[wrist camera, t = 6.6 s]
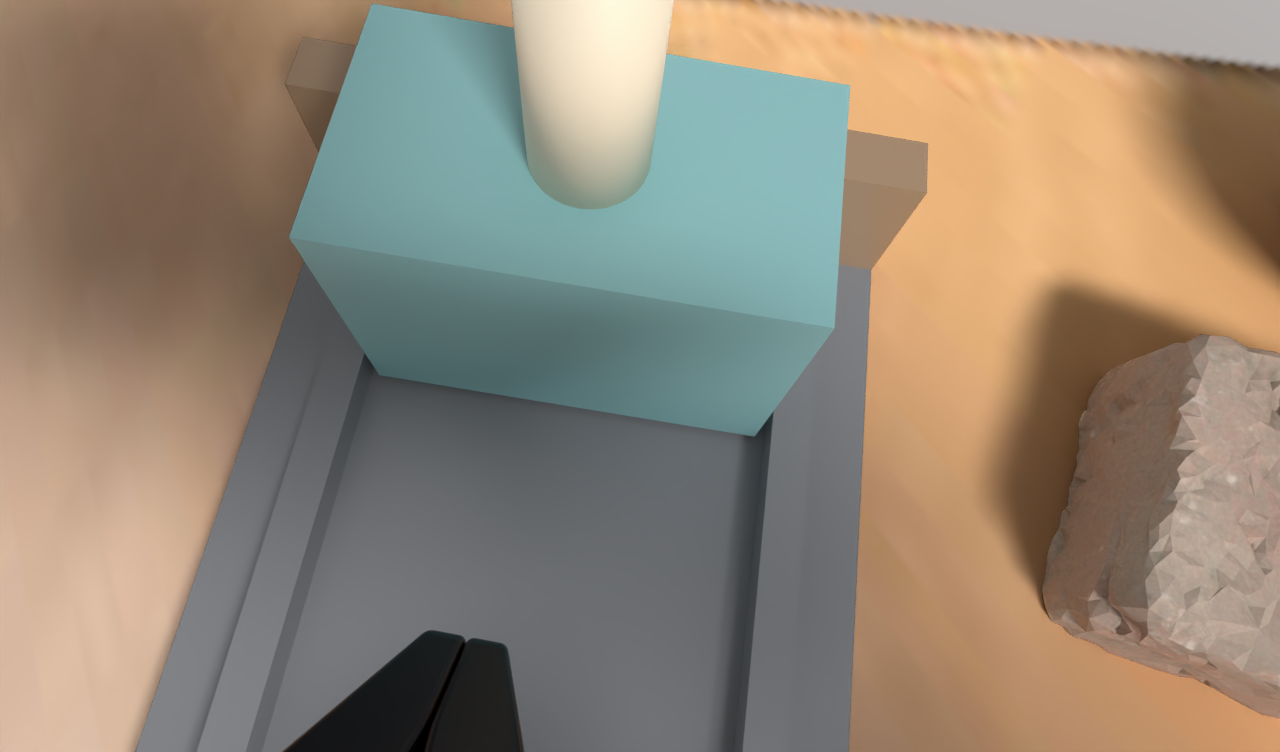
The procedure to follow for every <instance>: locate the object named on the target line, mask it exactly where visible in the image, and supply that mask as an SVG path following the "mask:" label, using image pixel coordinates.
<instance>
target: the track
mask: <svg viewBox="0 0 1280 752" xmlns="http://www.w3.org/2000/svg"><path fill="white" fill-rule="evenodd" d="M356 47H357V46H354V45H348V44H342V43H336V42H331V41H325V40H319V39H313V38H307V37H303V39H302V41H301V44H300V46H299V49H298V51H297V54H296V57H295V59H294V62H293V64H292V67H291V69H290V72H289V75H288V77H287V80H286V82H285V85H286V87H287V89H288V91H289V93H290V95H291V97H292V99H293V101H294V103H295V105H296V107H297V110H298V112H299V114H300V116H301V118H302V120H303V122H304V124H305V126H306V128H307V130H308V132H309V134H310V136H311V138H312V140H313V142H314V144H315V146H316V148H317V150H318V152H319V151H320V148H321V145H322V142H323V140H324V137H325V134H326V131H327V128H328V126H329V123H330V120H331V117H332V114H333V112H334V109H335V106H336V103H337V100H338V98H339V95H340V92H341V89H342V86H343V83H344V81H345V78H346V75H347V72H348V69H349V67H350V64H351V61H352V58H353V55H354V53H355V50H356ZM927 161H928V143H923V142H917V141H912V140H906V139H900V138H894V137H888V136H882V135H876V134H870V133H865V132H859V131H853V130H847V142H846V157H845V173H844V189H843V204H842V220H841V235H840V251H839V266H838V282H837V297H836V313H835V328H834V330H833V331H832V332H831V334H830V335H829V336H828V338H827V339H826V341H825V342H824V343H823V345H822V346H821V347H820V349H819V350H818V351H817V353H816V354H815V355H814V357H813V358H812V360H811V361H810V362H809V364H808V365H807V366H806V368H805V369H804V370H803V372H802V373H801V374H800V376H799V377H798V379H797V380H796V381H795V383H794V384H793V385H792V387H791V388H790V389H789V391H788V392H787V393H786V395H785V396H784V398H783V399H782V400H781V402H780V403H779V404H778V406H777V407H776V408H775V410H774V411H773V412H772V414H771V415H770V417H769V418H768V419H767V421H766V422H765V423H764V425H763V426H762V427H761V429H760V430H759V431H758V433H757V434H756V436H755V437H753V436H747V435H741V434H735V433H729V432H723V431H717V430H711V429H705V428H699V427H692V426H686V425H680V424H674V423H668V422H662V421H656V420H650V419H644V418H638V417H631V416H625V415H619V414H613V413H607V412H601V411H595V410H589V409H583V408H577V407H570V406H564V405H558V404H552V403H546V402H540V401H534V400H528V399H522V398H516V397H510V396H503V395H497V394H491V393H485V392H479V391H473V390H467V389H461V388H455V387H449V386H442V385H436V384H430V383H424V382H418V381H412V380H406V379H400V378H394V377H388V376H381V375H379V374H378V372H377V371H376V369H375V368H374V366H373V365H372V363H371V362H370V360H369V359H368V357H367V356H366V354H365V353H364V351H363V350H362V348H361V347H360V345H359V343H358V342H357V340H356V339H355V337H354V336H353V334H352V333H351V331H350V330H349V328H348V327H347V325H346V324H345V322H344V321H343V319H342V318H341V316H340V315H339V313H338V312H337V310H336V309H335V307H334V306H333V304H332V302H331V301H330V299H329V298H328V296H327V295H326V293H325V292H324V290H323V289H322V287H321V286H320V284H319V283H318V281H317V280H316V278H315V277H314V275H313V274H312V272H311V271H310V269H309V268H308V266H307V265H306V263H305V261H304V263H303V266H302V269H301V271H300V274H299V277H298V280H297V283H296V286H295V289H294V292H293V295H292V298H291V301H290V304H289V306H288V309H287V312H286V315H285V318H284V321H283V324H282V327H281V330H280V333H279V336H278V338H277V341H276V344H275V347H274V350H273V353H272V356H271V359H270V362H269V365H268V368H267V370H266V373H265V376H264V379H263V382H262V385H261V388H260V391H259V394H258V397H257V400H256V402H255V405H254V408H253V411H252V414H251V417H250V420H249V423H248V426H247V429H246V432H245V435H244V437H243V440H242V443H241V446H240V449H239V452H238V455H237V458H236V461H235V464H234V467H233V469H232V472H231V475H230V478H229V481H228V484H227V487H226V490H225V493H224V496H223V499H222V501H221V504H220V507H219V510H218V513H217V516H216V519H215V522H214V525H213V528H212V531H211V533H210V536H209V539H208V542H207V545H206V548H205V551H204V554H203V557H202V560H201V563H200V566H199V568H198V571H197V574H196V577H195V580H194V583H193V586H192V589H191V592H190V595H189V598H188V600H187V603H186V606H185V609H184V612H183V615H182V618H181V621H180V624H179V627H178V630H177V632H176V635H175V638H174V641H173V644H172V647H171V650H170V653H169V656H168V659H167V662H166V664H165V667H164V670H163V673H162V676H161V679H160V682H159V685H158V688H157V691H156V694H155V697H154V699H153V702H152V705H151V708H150V711H149V714H148V717H147V720H146V723H145V726H144V729H143V731H142V734H141V737H140V740H139V743H138V746H137V749H136V752H282V751H283V750H284V749H286V748H287V747H288V746H289V745H290V744H292V743H293V742H294V741H295V740H296V739H298V738H299V737H300V736H301V735H302V734H303V733H305V732H306V731H307V730H308V729H309V728H311V727H312V726H313V725H314V724H315V723H317V722H318V721H319V720H320V719H321V718H323V717H324V716H325V715H326V714H327V713H328V712H330V711H331V710H332V709H333V708H334V707H336V706H337V705H338V704H339V703H340V702H342V701H343V700H344V699H345V698H346V697H347V696H349V695H350V694H351V693H352V692H353V691H355V690H356V689H357V688H358V687H359V686H361V685H362V684H363V683H364V682H365V681H366V680H368V679H369V678H370V677H371V676H372V675H374V674H375V673H376V672H377V671H378V670H380V669H381V668H382V667H383V666H384V665H385V664H387V663H388V662H389V661H390V660H391V659H393V658H394V657H395V656H396V655H397V654H399V653H400V652H401V651H402V650H403V649H405V648H406V647H407V646H408V645H409V644H410V643H412V642H413V641H414V640H415V639H416V638H418V637H419V636H420V635H421V634H422V633H424V632H426V631H428V630H436V631H441V632H446V633H452V634H457V635H461V636H463V637H464V638H465V640H466V642H467V641H468V640H469V639H471V638H478V639H483V640H489V641H494V642H499V643H503V644H505V645H506V647H507V648H508V652H509V658H510V664H511V671H512V677H513V683H514V689H515V696H516V702H517V708H518V714H519V721H520V727H521V733H522V739H523V746H524V752H849V731H850V709H851V688H852V667H853V646H854V625H855V603H856V582H857V561H858V540H859V519H860V497H861V476H862V455H863V434H864V413H865V391H866V370H867V349H868V328H869V307H870V285H871V270H872V268H873V267H874V265H875V264H876V263H877V261H878V260H879V258H880V257H881V256H882V254H883V253H884V251H885V250H886V249H887V247H888V246H889V245H890V243H891V242H892V240H893V239H894V238H895V236H896V235H897V233H898V232H899V231H900V229H901V228H902V227H903V225H904V224H905V222H906V221H907V220H908V218H909V217H910V215H911V214H912V213H913V211H914V210H915V209H916V207H917V206H918V204H919V203H920V202H921V200H922V199H923V197H924V196H925V195H926V193H927Z"/></svg>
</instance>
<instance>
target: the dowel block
mask: <svg viewBox="0 0 1280 752" xmlns="http://www.w3.org/2000/svg"><path fill="white" fill-rule="evenodd" d="M511 3H512V13H513V23H514V28H512V27H506V26H500V25H495V24H489V23H483V22H477V21H471V20H465V19H460V18H454V17H448V16H442V15H436V14H430V13H425V12H419V11H413V10H407V9H401V8H395V7H390V6H384V5H378V4H372V5H371V8H370V10H369V13H368V16H367V19H366V22H365V24H364V27H363V30H362V33H361V36H360V39H359V41H358V44H357V47H356V50H355V53H354V55H353V58H352V61H351V64H350V67H349V69H348V72H347V75H346V78H345V81H344V83H343V86H342V89H341V92H340V95H339V98H338V100H337V103H336V106H335V109H334V112H333V114H332V117H331V120H330V123H329V126H328V128H327V131H326V134H325V137H324V140H323V142H322V145H321V148H320V151H319V154H318V157H317V159H316V162H315V165H314V168H313V171H312V173H311V176H310V179H309V182H308V185H307V187H306V190H305V193H304V196H303V199H302V201H301V204H300V207H299V210H298V213H297V216H296V218H295V221H294V224H293V227H292V230H291V232H290V235H289V239H290V240H291V242H292V243H293V245H294V246H295V248H296V249H297V251H298V252H299V254H300V255H301V257H302V258H303V260H304V261H305V263H306V265H307V266H308V268H309V269H310V271H311V272H312V274H313V275H314V277H315V278H316V280H317V281H318V283H319V284H320V286H321V287H322V289H323V290H324V292H325V293H326V295H327V296H328V298H329V299H330V301H331V302H332V304H333V306H334V307H335V309H336V310H337V312H338V313H339V315H340V316H341V318H342V319H343V321H344V322H345V324H346V325H347V327H348V328H349V330H350V331H351V333H352V334H353V336H354V337H355V339H356V340H357V342H358V343H359V345H360V347H361V348H362V350H363V351H364V353H365V354H366V356H367V357H368V359H369V360H370V362H371V363H372V365H373V366H374V368H375V369H376V371H377V372H378V374H379V375H381V376H388V377H394V378H400V379H406V380H412V381H418V382H424V383H430V384H436V385H442V386H449V387H455V388H461V389H467V390H473V391H479V392H485V393H491V394H497V395H503V396H510V397H516V398H522V399H528V400H534V401H540V402H546V403H552V404H558V405H564V406H570V407H577V408H583V409H589V410H595V411H601V412H607V413H613V414H619V415H625V416H631V417H638V418H644V419H650V420H656V421H662V422H668V423H674V424H680V425H686V426H692V427H699V428H705V429H711V430H717V431H723V432H729V433H735V434H741V435H747V436H753V437H755V436H756V434H757V433H758V431H759V430H760V429H761V427H762V426H763V425H764V423H765V422H766V421H767V419H768V418H769V417H770V415H771V414H772V412H773V411H774V410H775V408H776V407H777V406H778V404H779V403H780V402H781V400H782V399H783V398H784V396H785V395H786V393H787V392H788V391H789V389H790V388H791V387H792V385H793V384H794V383H795V381H796V380H797V379H798V377H799V376H800V374H801V373H802V372H803V370H804V369H805V368H806V366H807V365H808V364H809V362H810V361H811V360H812V358H813V357H814V355H815V354H816V353H817V351H818V350H819V349H820V347H821V346H822V345H823V343H824V342H825V341H826V339H827V338H828V336H829V335H830V334H831V332H832V331H833V330H834V328H835V313H836V297H837V282H838V266H839V251H840V235H841V220H842V204H843V189H844V173H845V157H846V142H847V126H848V111H849V95H850V85H845V84H839V83H833V82H827V81H822V80H816V79H810V78H804V77H798V76H792V75H786V74H781V73H775V72H769V71H763V70H757V69H751V68H746V67H740V66H734V65H728V64H722V63H716V62H711V61H705V60H699V59H693V58H687V57H681V56H676V55H670V54H666V53H667V46H668V39H669V31H670V24H671V17H672V10H673V3H674V0H511Z"/></svg>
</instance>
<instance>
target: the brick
mask: <svg viewBox="0 0 1280 752" xmlns="http://www.w3.org/2000/svg"><path fill="white" fill-rule="evenodd" d="M1078 429H1079V439H1080V440H1079V441H1078V445H1079V448H1080V449H1079V452H1078V454H1077V456H1076V461H1077V467H1076V469H1075V472H1074V477H1073V481H1072V483H1071V485H1070V487H1069V494H1070V497H1069V498H1068V506H1067V507H1065V509H1064V510H1063V511H1062V514H1061V518H1060V524H1059V529H1058V531H1057V532H1056V533H1055V535H1054V537H1053V539H1052V542H1051V544H1050V547H1049V550H1048V553H1047V561H1046V573H1045V578H1044V582H1043V587H1042V594H1043V599H1044V604H1045V607H1046V610H1047V613H1048V615H1049V617H1050V620H1051V621H1052V622H1054V623H1056V624H1058V625H1060V626H1062V627H1063V628H1064V629H1065V630H1066V631H1067V632H1068V633H1069V634H1070V635H1072V636H1074V637H1077V638H1080V639H1083V640H1086V641H1089V642H1092V643H1094V644H1097V645H1099V646H1100V647H1101V648H1103V649H1104V650H1105V651H1107V652H1108V653H1111V654H1113V655H1116V656H1119V657H1122V658H1125V659H1128V660H1131V661H1134V662H1136V663H1139V664H1142V665H1145V666H1147V667H1150V668H1153V669H1156V670H1159V671H1162V672H1166V673H1169V674H1173V675H1177V676H1180V677H1191V678H1194V679H1196V680H1198V681H1200V682H1201V683H1204V684H1206V685H1208V686H1210V687H1212V688H1214V689H1216V690H1217V691H1219V692H1221V693H1222V694H1224V695H1226V696H1228V697H1229V698H1231V699H1233V700H1235V701H1237V702H1239V703H1240V704H1242V705H1244V706H1246V707H1248V708H1250V709H1252V710H1254V711H1256V712H1258V713H1260V714H1262V715H1266V716H1270V717H1275V718H1280V354H1279V353H1276V352H1272V351H1266V350H1259V349H1253V348H1247V347H1245V346H1243V345H1242V344H1240V343H1239V342H1237V341H1235V340H1234V339H1232V338H1230V337H1225V336H1211V335H1204V334H1200V335H1198V336H1196V337H1194V338H1192V339H1191V340H1189V341H1187V342H1186V343H1173V344H1171V345H1168V346H1166V347H1164V348H1161V349H1159V350H1156V351H1154V352H1151V353H1148V354H1145V355H1142V356H1139V357H1137V358H1134V359H1131V360H1129V361H1128V362H1127V363H1124V364H1122V365H1119V366H1117V367H1114V368H1112V369H1111V370H1109V371H1107V372H1106V374H1105V376H1104V377H1103V378H1101V379H1100V380H1099V381H1098V383H1097V384H1096V386H1095V388H1094V390H1093V392H1092V394H1091V396H1090V397H1089V399H1088V407H1087V410H1085V411H1084V412H1083V413H1082V415H1081V418H1080V421H1079V425H1078Z"/></svg>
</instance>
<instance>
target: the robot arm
mask: <svg viewBox="0 0 1280 752" xmlns="http://www.w3.org/2000/svg"><path fill="white" fill-rule="evenodd" d="M282 752H524V746H523V739H522V733H521V727H520V721H519V714H518V708H517V702H516V696H515V689H514V683H513V677H512V671H511V664H510V658H509V652H508V648H507V647H506V645H505V644H503V643H499V642H494V641H489V640H483V639H478V638H471V639H469V640H468V641H467V642H466V640H465V638H464V637H463V636H461V635H457V634H452V633H446V632H441V631H436V630H428V631H426V632H424V633H422V634H421V635H420V636H419V637H418V638H416V639H415V640H414V641H413V642H412V643H410V644H409V645H408V646H407V647H406V648H405V649H403V650H402V651H401V652H400V653H399V654H397V655H396V656H395V657H394V658H393V659H391V660H390V661H389V662H388V663H387V664H385V665H384V666H383V667H382V668H381V669H380V670H378V671H377V672H376V673H375V674H374V675H372V676H371V677H370V678H369V679H368V680H366V681H365V682H364V683H363V684H362V685H361V686H359V687H358V688H357V689H356V690H355V691H353V692H352V693H351V694H350V695H349V696H347V697H346V698H345V699H344V700H343V701H342V702H340V703H339V704H338V705H337V706H336V707H334V708H333V709H332V710H331V711H330V712H328V713H327V714H326V715H325V716H324V717H323V718H321V719H320V720H319V721H318V722H317V723H315V724H314V725H313V726H312V727H311V728H309V729H308V730H307V731H306V732H305V733H303V734H302V735H301V736H300V737H299V738H298V739H296V740H295V741H294V742H293V743H292V744H290V745H289V746H288V747H287V748H286V749H284V750H283V751H282Z"/></svg>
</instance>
